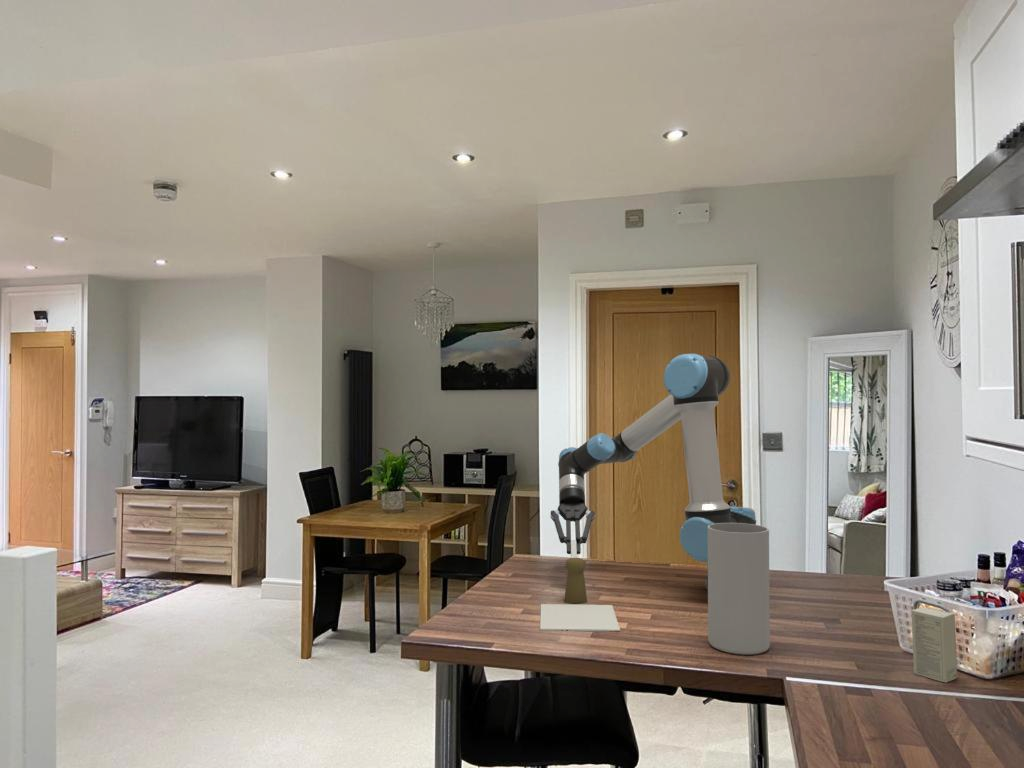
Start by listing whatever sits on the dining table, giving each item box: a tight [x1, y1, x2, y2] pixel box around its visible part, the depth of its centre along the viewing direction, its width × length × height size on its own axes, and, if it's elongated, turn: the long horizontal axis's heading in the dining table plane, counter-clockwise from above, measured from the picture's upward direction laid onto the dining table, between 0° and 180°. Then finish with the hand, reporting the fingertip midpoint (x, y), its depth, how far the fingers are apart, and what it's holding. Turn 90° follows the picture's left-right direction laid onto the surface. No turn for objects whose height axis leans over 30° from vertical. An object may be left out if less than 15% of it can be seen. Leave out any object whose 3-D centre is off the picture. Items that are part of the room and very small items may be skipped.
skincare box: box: [911, 606, 958, 683], centre depth 138 cm, size 6×4×12 cm
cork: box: [563, 557, 588, 605], centre depth 190 cm, size 6×6×11 cm
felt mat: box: [539, 603, 621, 632], centre depth 175 cm, size 20×18×1 cm
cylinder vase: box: [707, 523, 771, 656], centre depth 156 cm, size 12×12×25 cm
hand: (574, 563), depth 198 cm, fingers closed
